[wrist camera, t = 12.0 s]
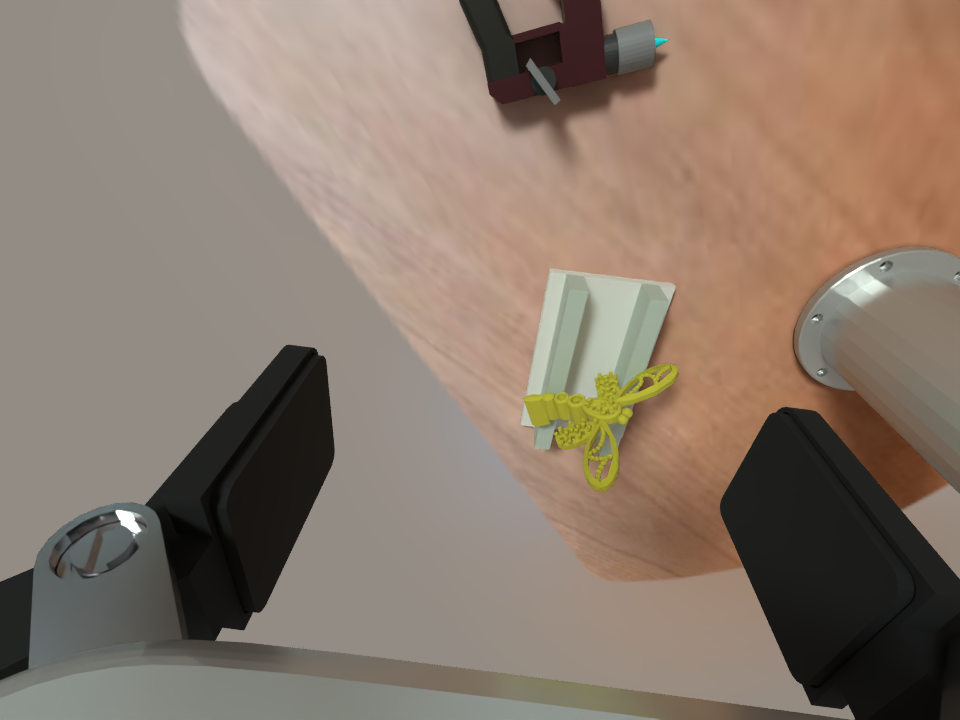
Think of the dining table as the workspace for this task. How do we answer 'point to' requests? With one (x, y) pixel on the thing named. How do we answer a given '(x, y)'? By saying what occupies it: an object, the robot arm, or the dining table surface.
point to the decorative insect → (596, 416)
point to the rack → (593, 339)
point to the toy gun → (578, 46)
